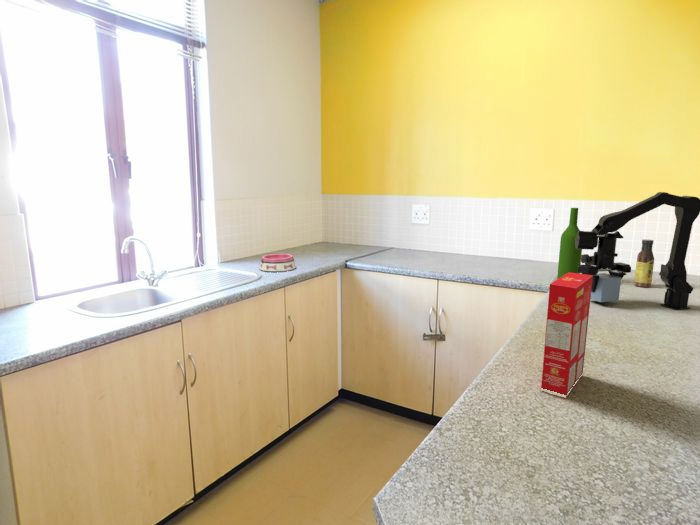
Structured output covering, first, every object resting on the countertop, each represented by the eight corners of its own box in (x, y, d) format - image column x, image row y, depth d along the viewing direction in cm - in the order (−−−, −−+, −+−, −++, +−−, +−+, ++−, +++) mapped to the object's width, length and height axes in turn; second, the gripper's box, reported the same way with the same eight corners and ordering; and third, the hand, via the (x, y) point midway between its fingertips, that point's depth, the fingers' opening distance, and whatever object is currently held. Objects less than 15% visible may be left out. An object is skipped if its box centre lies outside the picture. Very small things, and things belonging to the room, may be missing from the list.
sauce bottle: (650, 288, 191) (656, 241, 187) (632, 286, 195) (638, 240, 191) (651, 285, 196) (657, 239, 192) (634, 283, 200) (640, 238, 196)
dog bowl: (257, 266, 240) (256, 254, 239) (292, 264, 246) (291, 251, 244) (262, 274, 223) (261, 260, 221) (299, 271, 228) (299, 258, 227)
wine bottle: (582, 283, 201) (590, 208, 194) (562, 283, 201) (568, 208, 194) (573, 278, 209) (580, 207, 203) (553, 278, 210) (559, 207, 203)
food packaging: (559, 369, 114) (568, 272, 109) (582, 375, 111) (592, 275, 106) (540, 391, 103) (549, 284, 98) (565, 398, 100) (576, 288, 95)
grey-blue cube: (618, 300, 168) (621, 277, 166) (600, 302, 166) (603, 278, 164) (602, 295, 175) (604, 273, 173) (585, 297, 173) (587, 274, 172)
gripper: (610, 245, 177) (606, 284, 180) (569, 247, 173) (565, 287, 176) (634, 250, 166) (629, 291, 169) (590, 252, 162) (586, 295, 165)
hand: (602, 291), depth 170 cm, fingers closed on grey-blue cube, 8 cm apart
